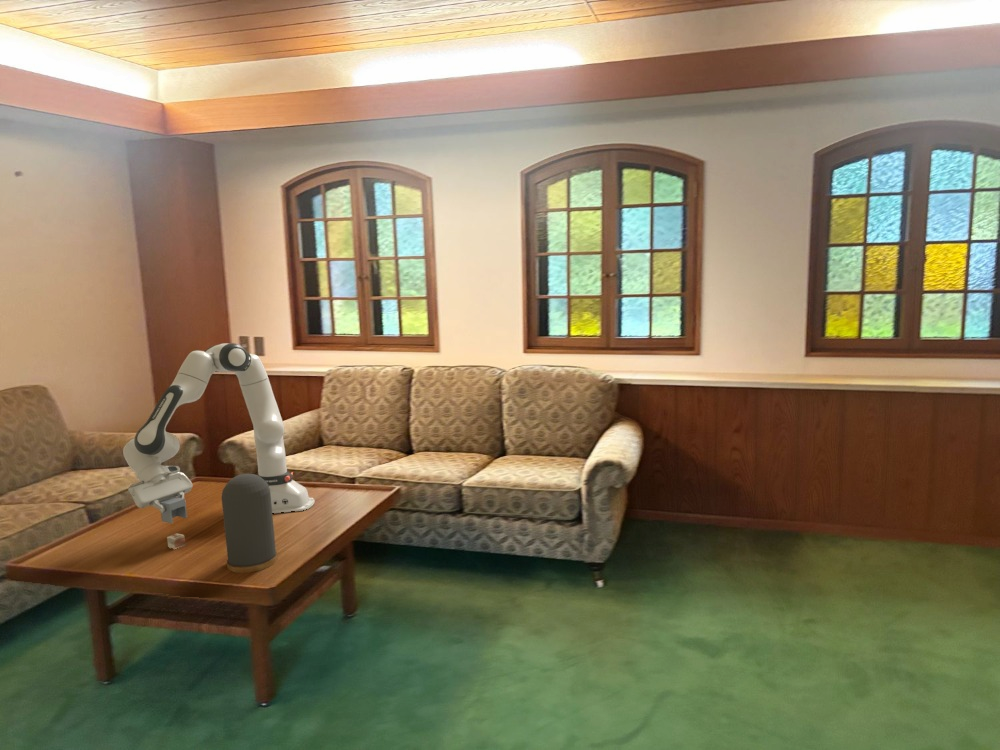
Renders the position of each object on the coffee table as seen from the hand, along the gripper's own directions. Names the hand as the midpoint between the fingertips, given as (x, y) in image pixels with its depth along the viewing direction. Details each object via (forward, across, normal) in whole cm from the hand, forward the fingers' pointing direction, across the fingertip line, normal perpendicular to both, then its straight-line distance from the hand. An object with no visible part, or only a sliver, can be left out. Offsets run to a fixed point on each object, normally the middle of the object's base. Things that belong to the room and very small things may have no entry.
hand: (174, 507), depth 244 cm
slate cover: (+3, 0, +4) cm, 4 cm away
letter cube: (+10, 0, +11) cm, 15 cm away
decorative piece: (+36, +2, -15) cm, 39 cm away
